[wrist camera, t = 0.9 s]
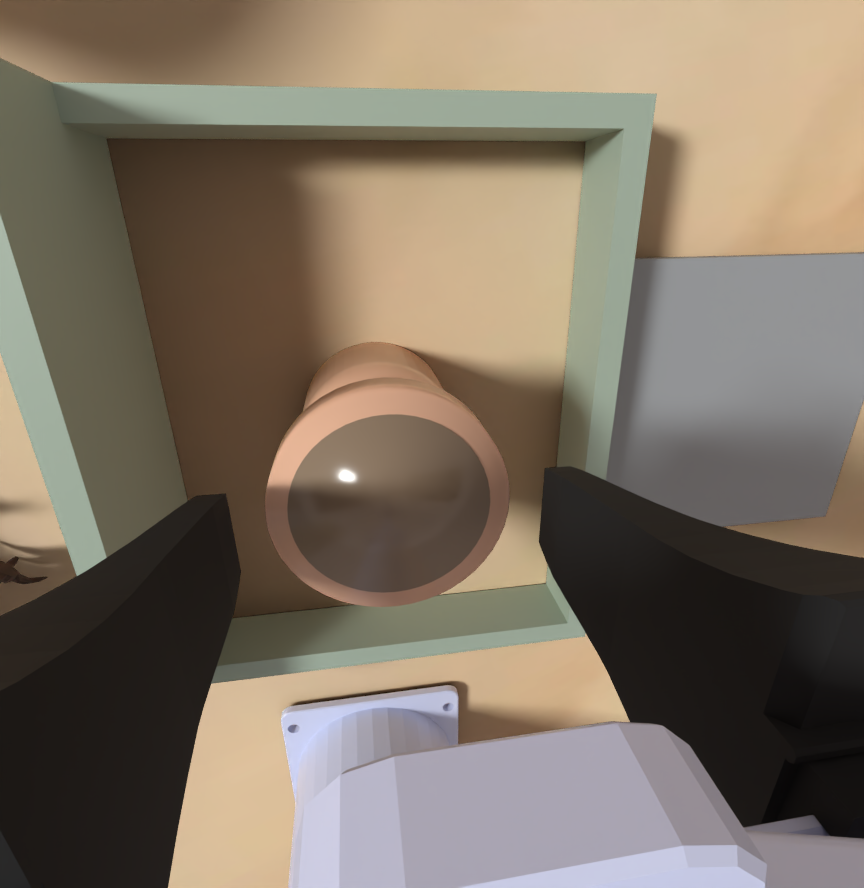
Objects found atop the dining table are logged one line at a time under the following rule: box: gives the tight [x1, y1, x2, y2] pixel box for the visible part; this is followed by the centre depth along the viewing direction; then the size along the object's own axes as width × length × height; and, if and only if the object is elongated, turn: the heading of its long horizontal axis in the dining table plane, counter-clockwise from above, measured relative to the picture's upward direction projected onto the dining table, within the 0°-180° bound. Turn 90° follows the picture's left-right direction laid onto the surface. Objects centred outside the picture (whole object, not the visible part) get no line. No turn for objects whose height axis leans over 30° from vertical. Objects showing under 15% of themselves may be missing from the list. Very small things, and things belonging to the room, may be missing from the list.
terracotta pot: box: [265, 342, 510, 607], centre depth 16 cm, size 6×6×7 cm
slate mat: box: [606, 252, 864, 527], centre depth 21 cm, size 11×11×1 cm
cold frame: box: [0, 58, 657, 684], centre depth 16 cm, size 19×16×6 cm
